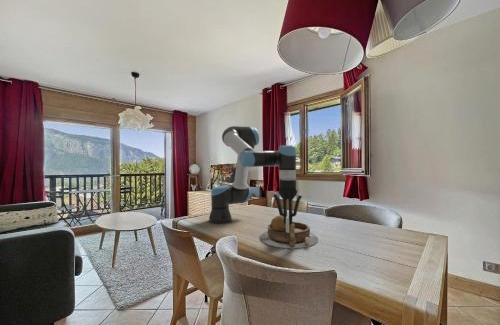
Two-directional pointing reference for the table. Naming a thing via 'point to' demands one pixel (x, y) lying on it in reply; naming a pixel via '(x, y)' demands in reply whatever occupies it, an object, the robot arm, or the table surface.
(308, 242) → the base
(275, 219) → the potato
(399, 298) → the table surface
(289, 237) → the brown round shallow piece
